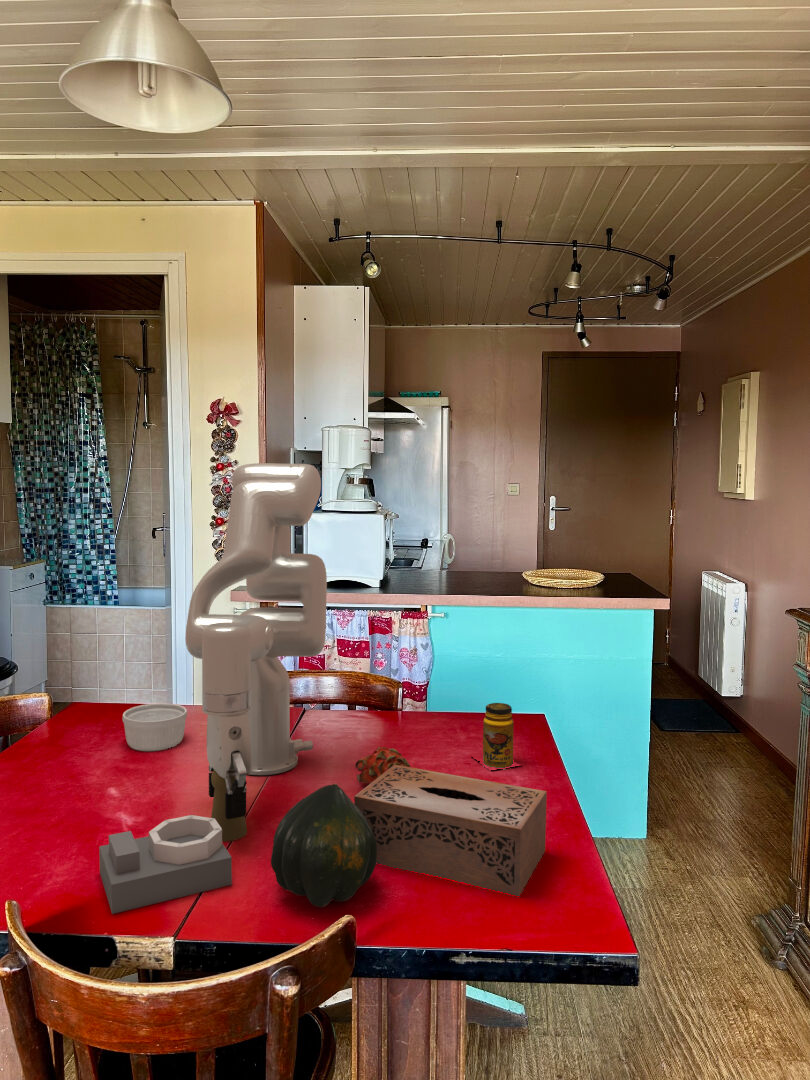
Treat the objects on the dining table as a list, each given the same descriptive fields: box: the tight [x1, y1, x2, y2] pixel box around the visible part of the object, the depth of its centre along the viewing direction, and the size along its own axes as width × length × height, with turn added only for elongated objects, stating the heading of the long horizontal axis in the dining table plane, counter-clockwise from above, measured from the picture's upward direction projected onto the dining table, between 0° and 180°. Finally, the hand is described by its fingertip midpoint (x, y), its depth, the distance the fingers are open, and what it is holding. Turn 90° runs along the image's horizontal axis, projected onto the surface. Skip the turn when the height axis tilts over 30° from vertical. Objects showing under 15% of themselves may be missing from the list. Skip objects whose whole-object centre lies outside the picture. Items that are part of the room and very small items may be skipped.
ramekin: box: [122, 702, 188, 752], centre depth 168 cm, size 13×13×7 cm
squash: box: [270, 783, 377, 908], centre depth 109 cm, size 14×15×15 cm
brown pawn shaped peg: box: [210, 770, 248, 843], centre depth 125 cm, size 6×6×11 cm
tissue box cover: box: [353, 765, 547, 897], centre depth 119 cm, size 26×14×10 cm, turn 66°
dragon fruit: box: [354, 746, 411, 784], centre depth 144 cm, size 8×8×12 cm
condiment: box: [482, 702, 515, 768], centre depth 158 cm, size 7×8×12 cm
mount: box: [98, 814, 233, 915], centre depth 111 cm, size 16×12×6 cm
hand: (227, 805), depth 125 cm, fingers open, 9 cm apart
